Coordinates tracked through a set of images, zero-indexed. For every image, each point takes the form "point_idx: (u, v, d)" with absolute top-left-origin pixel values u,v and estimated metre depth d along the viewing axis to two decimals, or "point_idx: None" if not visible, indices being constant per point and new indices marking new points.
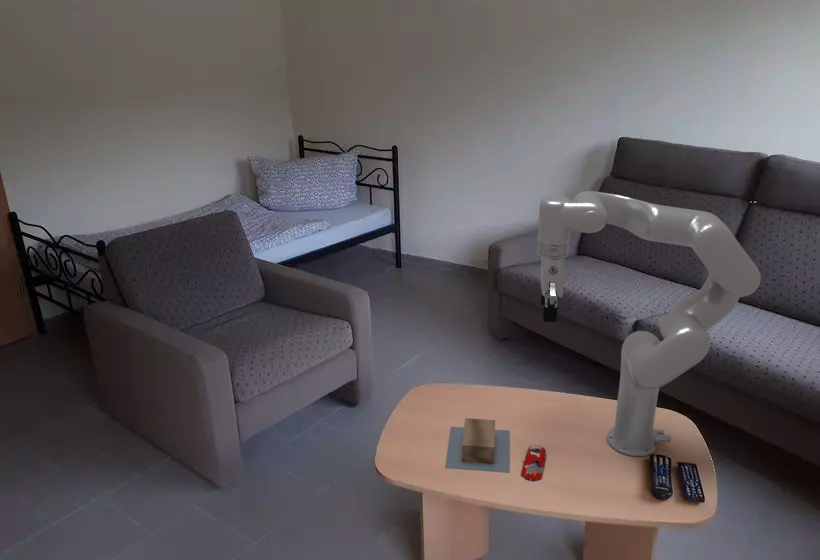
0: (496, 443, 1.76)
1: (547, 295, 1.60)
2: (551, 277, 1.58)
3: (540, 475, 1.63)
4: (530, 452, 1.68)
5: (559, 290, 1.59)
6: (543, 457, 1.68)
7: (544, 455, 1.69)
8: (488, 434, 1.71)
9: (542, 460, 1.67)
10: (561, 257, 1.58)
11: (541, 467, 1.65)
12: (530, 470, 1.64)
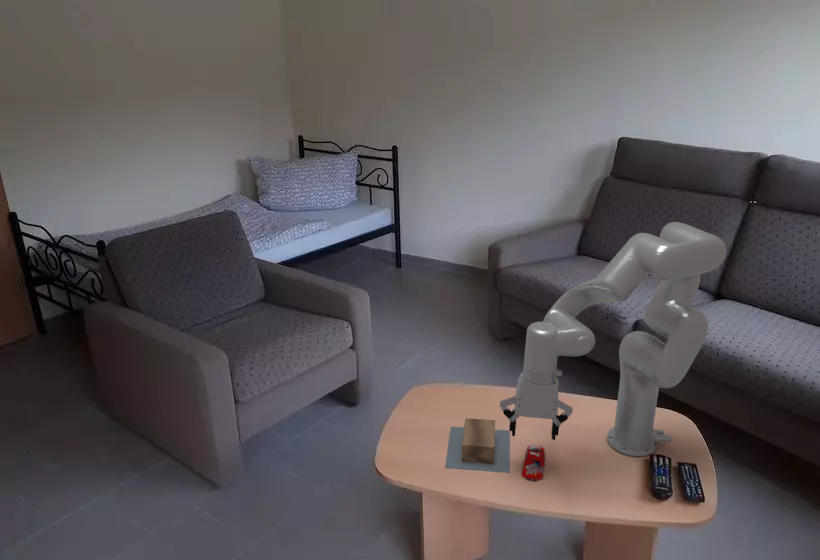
0: (496, 443, 1.76)
1: None
2: None
3: (541, 475, 1.63)
4: (529, 452, 1.68)
5: None
6: (543, 457, 1.68)
7: (543, 455, 1.69)
8: (488, 434, 1.71)
9: (542, 460, 1.67)
10: None
11: (541, 467, 1.65)
12: (530, 470, 1.64)
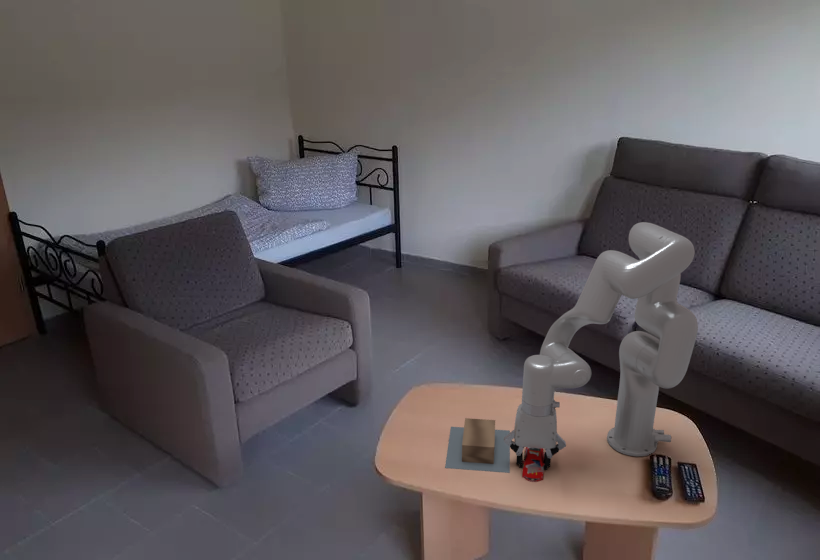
0: (496, 443, 1.76)
1: None
2: (556, 427, 1.62)
3: (542, 474, 1.62)
4: (529, 451, 1.68)
5: None
6: (542, 456, 1.68)
7: (543, 454, 1.69)
8: (488, 434, 1.71)
9: (542, 458, 1.67)
10: None
11: (542, 466, 1.64)
12: (531, 469, 1.63)
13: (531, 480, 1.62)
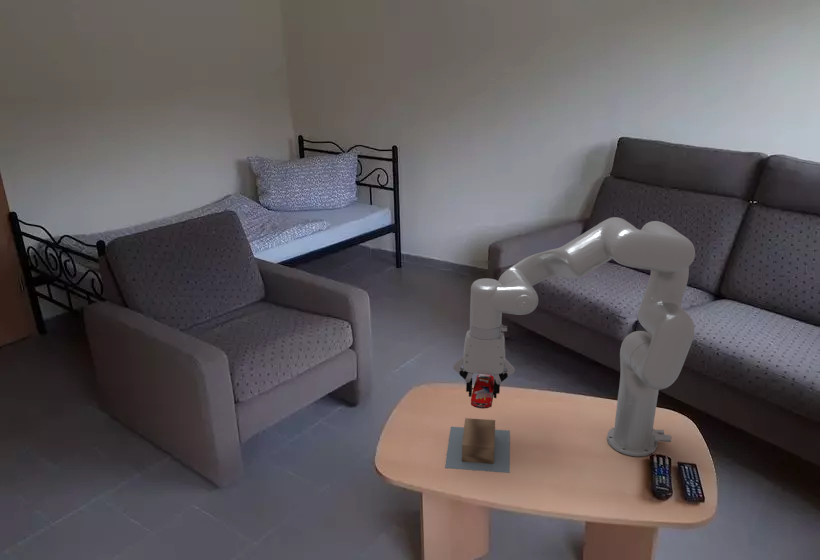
0: (496, 443, 1.76)
1: None
2: (504, 352, 1.62)
3: (490, 399, 1.62)
4: (479, 379, 1.68)
5: None
6: (492, 384, 1.68)
7: (493, 382, 1.69)
8: (488, 434, 1.71)
9: (492, 386, 1.66)
10: None
11: (491, 392, 1.64)
12: (479, 395, 1.63)
13: (479, 405, 1.61)
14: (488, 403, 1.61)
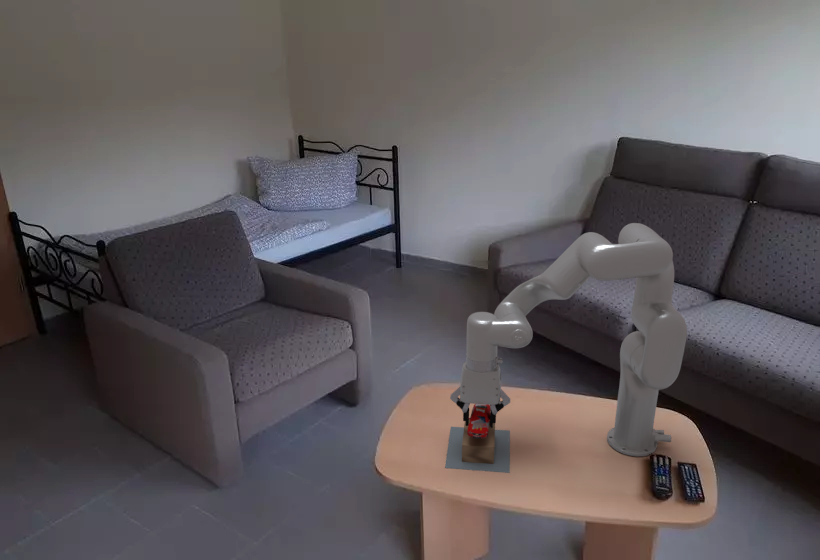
0: (496, 443, 1.76)
1: None
2: (500, 383, 1.66)
3: (486, 429, 1.66)
4: (475, 408, 1.72)
5: None
6: (489, 413, 1.71)
7: (489, 411, 1.72)
8: (488, 434, 1.71)
9: (488, 415, 1.70)
10: None
11: (487, 422, 1.68)
12: (476, 425, 1.67)
13: (475, 435, 1.65)
14: (484, 433, 1.65)
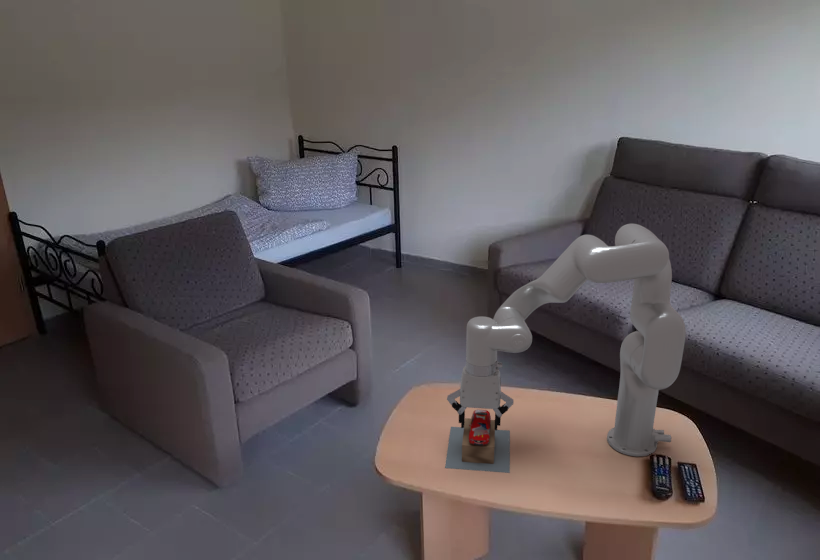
0: (496, 443, 1.76)
1: None
2: (500, 387, 1.66)
3: (487, 436, 1.67)
4: (475, 415, 1.72)
5: None
6: (489, 420, 1.72)
7: (489, 418, 1.73)
8: None
9: (488, 422, 1.71)
10: None
11: (488, 429, 1.69)
12: (477, 432, 1.68)
13: (477, 442, 1.66)
14: (486, 440, 1.66)
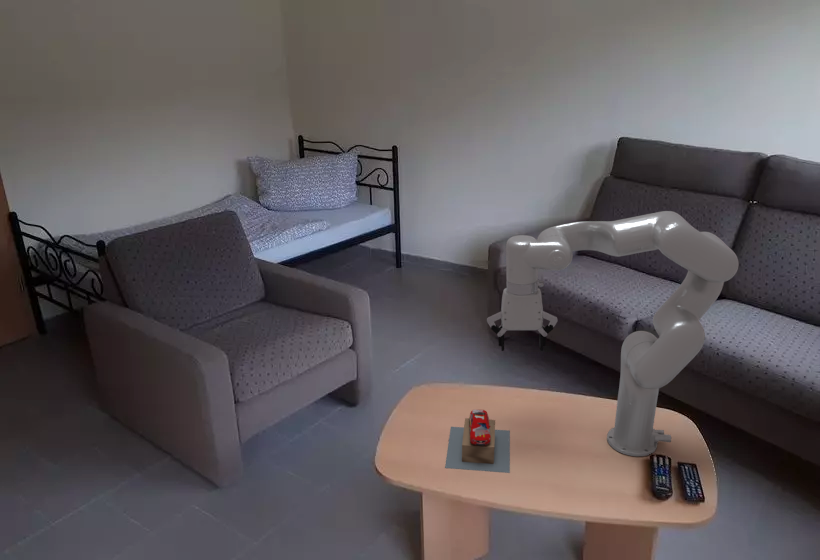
0: (496, 443, 1.76)
1: None
2: (542, 307, 1.64)
3: (489, 436, 1.67)
4: (474, 415, 1.72)
5: None
6: (487, 419, 1.72)
7: (487, 417, 1.73)
8: None
9: (487, 421, 1.71)
10: None
11: (488, 428, 1.69)
12: (478, 432, 1.67)
13: (479, 442, 1.66)
14: (487, 440, 1.66)
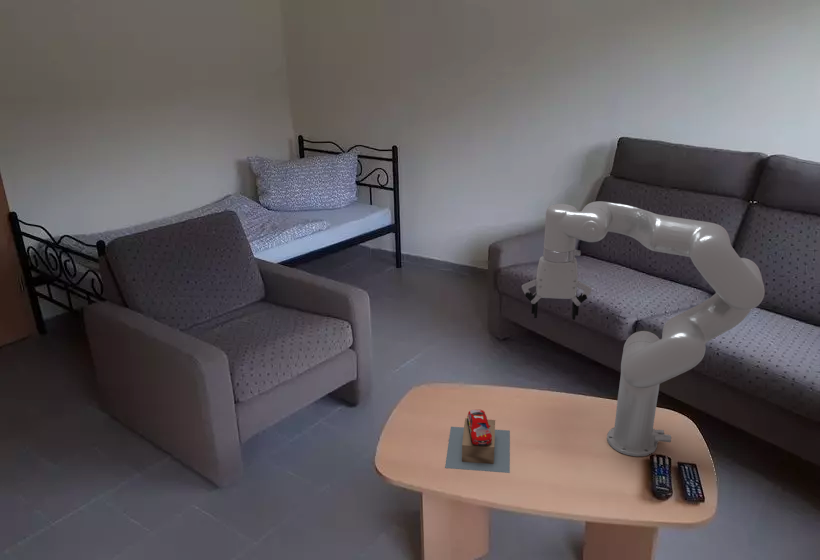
0: (496, 443, 1.76)
1: None
2: (577, 276, 1.67)
3: (490, 435, 1.67)
4: (473, 416, 1.72)
5: None
6: (486, 419, 1.73)
7: (486, 417, 1.74)
8: None
9: (487, 421, 1.71)
10: None
11: (488, 428, 1.69)
12: (479, 432, 1.67)
13: (481, 442, 1.66)
14: (489, 439, 1.66)
